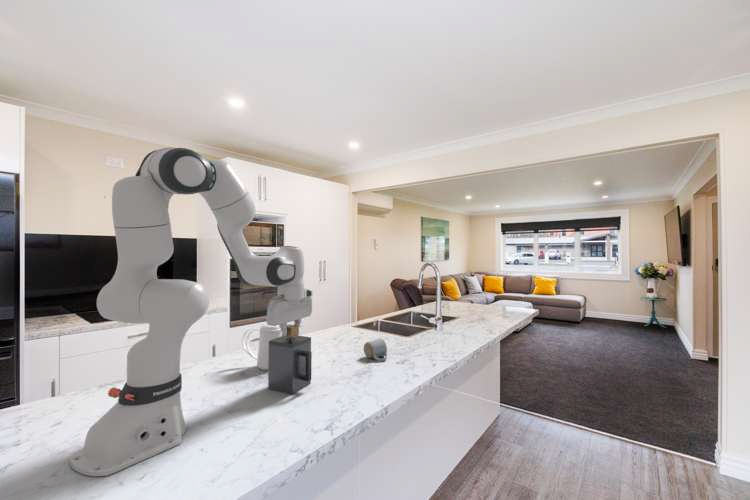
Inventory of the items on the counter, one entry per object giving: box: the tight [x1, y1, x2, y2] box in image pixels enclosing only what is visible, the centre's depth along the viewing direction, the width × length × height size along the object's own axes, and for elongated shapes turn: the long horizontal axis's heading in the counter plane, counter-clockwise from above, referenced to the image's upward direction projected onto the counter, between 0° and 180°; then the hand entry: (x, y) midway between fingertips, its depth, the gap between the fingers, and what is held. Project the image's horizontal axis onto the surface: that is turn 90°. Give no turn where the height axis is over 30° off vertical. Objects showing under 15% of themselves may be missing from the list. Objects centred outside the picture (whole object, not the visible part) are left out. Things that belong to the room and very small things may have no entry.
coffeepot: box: [242, 322, 304, 371], centre depth 134 cm, size 11×25×19 cm, turn 84°
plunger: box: [284, 324, 300, 340], centre depth 114 cm, size 7×7×19 cm
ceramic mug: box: [363, 337, 388, 362], centre depth 145 cm, size 11×8×8 cm
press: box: [267, 335, 312, 396], centre depth 114 cm, size 10×13×16 cm
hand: (290, 333), depth 114 cm, fingers closed on plunger, 4 cm apart
